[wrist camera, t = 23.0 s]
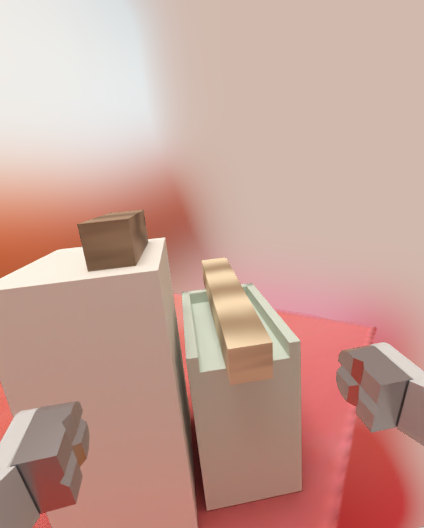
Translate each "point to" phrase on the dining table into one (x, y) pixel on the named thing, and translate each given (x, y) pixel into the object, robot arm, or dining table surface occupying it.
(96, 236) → the walnut bar
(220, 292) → the maple bar
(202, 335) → the low shelf
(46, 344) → the tall stand
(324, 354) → the dining table surface
